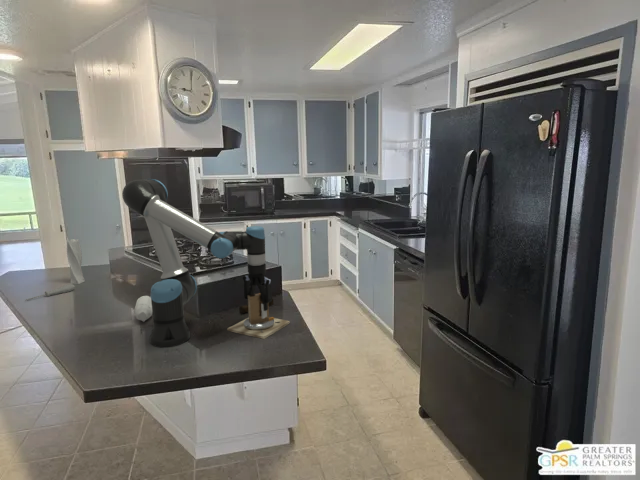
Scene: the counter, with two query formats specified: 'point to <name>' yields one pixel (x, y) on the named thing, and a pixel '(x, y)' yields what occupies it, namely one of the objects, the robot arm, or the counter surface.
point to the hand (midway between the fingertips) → (258, 316)
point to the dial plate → (258, 333)
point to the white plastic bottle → (143, 308)
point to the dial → (257, 314)
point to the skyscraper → (75, 261)
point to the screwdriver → (57, 291)
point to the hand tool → (245, 308)
